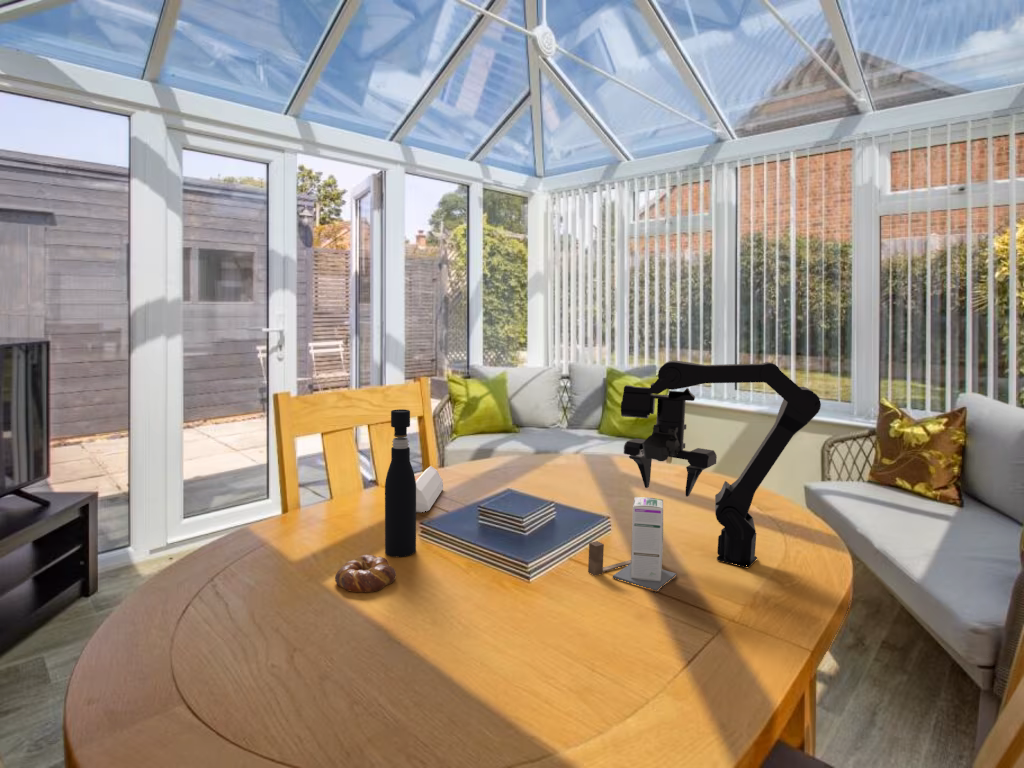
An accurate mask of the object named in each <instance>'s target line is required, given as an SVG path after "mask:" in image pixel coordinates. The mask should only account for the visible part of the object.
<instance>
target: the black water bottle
mask: <svg viewBox="0 0 1024 768" xmlns="http://www.w3.org/2000/svg"><path fill="white" fill-rule="evenodd" d="M390 427H391V428H394V432H393V436H394V438H393V439H392V447H391V450H390V453H391V458H390V459H391V460H390V463H389V466H388V470H387V473H386V476H385V482H384V552H385V554H386V555H387V556H388V557H392V558H405V557H409V556H412V555H414V554H415V553H416V551H417V512H416V476H415V471H414V469H413V466H412V463H411V459H410V456H411V451H410V450H411V448H410V446H409V442H410V441H409V438H408V437H407V436H408V434H407V433H408V428H410V427H411V411H410V410H409V409H404V408H403V409H391V411H390Z"/></svg>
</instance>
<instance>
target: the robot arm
mask: <svg viewBox="0 0 1024 768" xmlns="http://www.w3.org/2000/svg"><path fill="white" fill-rule="evenodd" d="M723 383H724V384H738V383H740V384H742V383H744V384H745V383H749V384H750V383H765V384H767V385H768V386H769V387H770V388H771V389H772V390H774V391H775V392H776V393H777V395H779V396H780V397H781V398H782V402H781V405H780V407H779V410H778V412H777V416H776V419H775V422H774V424H773V426H772V427H771V428H770V430H769V431H768V433H767V435H765V437H764V439H763V440H762V442H761V444H760V445H759V447H758V448H757V450H756V451H755V452H754V454H753V456H752V457H751V459H750V461H749V462H748V464H747V465H746V466H745V468H744V469H743V470H742V472H741V474H740V475H739V477H738V478H737V479H736V480H735V481H734V482H732V483H731V484H730V483H729V482H728V481H726V480H725V481H724V482H723V485H722V487H721V489H720V490H719V491H718V492H717V493H716V494H715V496H714V498H715V503H714V504H715V507H714V508H715V509H714V510H715V511H714V513H715V518H716V521H717V522H718V523H719V525H721V526H722V527H723V528H722V529H721V530H720V535H718V537H717V550H716V551H717V552H716V553H717V555H718V556H717V557H716V561H718V560H720V561H719V562H722V561H724V562H723V563H726V562H728V563H727V564H729V563H733V564H737V565H740V566H744V567H749V566H750V565H751V564H752V563H753V562H754V561H755V560H756V559H757V560H758V557H757V555H756V543H757V532H756V526H755V522H754V518H753V516H752V515H751V514H750V513H749V511H750V509H751V506H752V502H753V499H754V497H755V495H756V494H755V493H756V491H757V490H758V489H759V487H760V485H761V484H762V482H763V481H764V479H766V476H767V475H768V474H769V472H770V471H771V469H772V468H773V466H774V465H775V463H776V462H777V460H778V459H779V457H780V456H781V454H782V453H783V451H784V450H785V449H786V447H787V445H789V442H790V441H791V439H792V438H793V436H795V435H796V433H798V432H799V431H801V430H802V429H804V428H805V426H807V425H808V424H809V422H810V421H812V420H813V419H814V418H815V417H816V416H817V414H819V412H820V409H821V406H822V403H821V400H820V397H819V395H817V393H815V392H814V391H813V390H811V389H810V388H808V387H805V386H799V385H798V384H796V383H795V382H794V381H793V380H792V379H791V378H790V377H788V376H787V375H786V374H785V373H784V372H782V370H781V369H780V367H778V365H776V364H775V363H773V362H769V361H768V362H767V361H765V362H763V363H736V364H734V363H733V364H728V363H727V364H703V363H702V364H699V363H695V362H689V361H683V360H668V361H666V362H665V363H664V364H663V365H662V366H660V368H659V370H658V372H657V379H656V381H654V382H652V383H651V384H650V387H648V386H647V387H644V386H634V385H629V384H627V385H626V384H625V385H624V387H623V393H622V400H621V402H620V416H621V417H622V418H640V419H649V417H650V415H654V413H655V407H656V408H657V409H656V424H654V425H653V428H652V433H651V435H649V436H648V437H647V438H646V439H645V438H644V439H643V438H634V439H633V438H632V439H629V440H627V441H626V442H625V443H624V445H623V455H627V456H628V458H629V459H630V460H633V461H634V462H635V464H636V465H637V467H638V470H639V473H640V476H641V479H642V482H643V485H644V488H645V489H648V488H649V487H650V483H651V475H652V473H651V472H652V461H653V460H656V461H658V462H665V461H666V460H668V458H675V459H679V460H685V461H687V463H688V465H687V466H685V469H686V472H687V475H686V483H685V497H689V496H690V495H691V492H692V490H693V489H694V487H695V484H696V482H697V480H698V478H699V477H700V475H701V473H702V472H703V471H704V470H706V469H709V468H710V467H712V466H715V465H716V464H717V453H716V452H715V450H713V449H712V450H711V449H706V448H701V447H697V448H694V449H693V450H684V449H686V443H685V442H684V438H685V436H684V435H685V434H684V433H685V430H687V424H686V423H685V421H686V420H685V418H686V416H685V415H686V402H688V401H689V402H694V401H695V399H696V396H695V395H694V393H692V392H691V391H690V389H689V387H695V386H697V385H698V386H699V385H703V384H704V385H705V384H723ZM684 388H686V389H684ZM679 389H684V390H683V391H675V390H679ZM666 390H669V391H668V394H661V393H663V392H664V391H666ZM656 399H657V403H656ZM655 403H656V405H657V406H656V405H655ZM757 560H756V561H757ZM756 561H755V562H756ZM755 562H754V563H755ZM754 563H753V564H754ZM733 564H732V565H733ZM753 564H752V565H753ZM737 565H736V566H737ZM746 565H747V566H746ZM752 565H751V566H752ZM740 566H739V567H740ZM751 566H750V567H751ZM744 567H743V568H744ZM750 567H749V568H750Z"/></svg>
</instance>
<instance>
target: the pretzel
mask: <svg viewBox="0 0 1024 768" xmlns="http://www.w3.org/2000/svg"><path fill="white" fill-rule="evenodd" d="M334 577H335V578H334V579H335V580H334V581H335V583H336V585H338V587H340V588H343V589H344V590H345V591H348V592H353V593H372V592H377V591H380V590H382V589H383V588H384V587H385V586H387V585H390V584H392V583H393V582H394V581H395V580H396V577H397V572H396V570H395V568H394V567H393V566H391V565H390V563H389V561H388V559H387V558H385V557H382V556H376V555H374V554H373V555H372V554H367V553H366V554H363V555H360V556H357V557H356V558H355V559H353V560H349V561H347V562H345V563H344V564H343V565H342V566H341V567H340V568H339V569H338V570H337V571H336V573H335V576H334Z"/></svg>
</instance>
